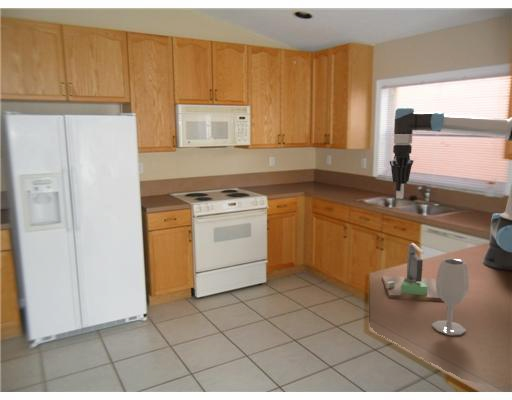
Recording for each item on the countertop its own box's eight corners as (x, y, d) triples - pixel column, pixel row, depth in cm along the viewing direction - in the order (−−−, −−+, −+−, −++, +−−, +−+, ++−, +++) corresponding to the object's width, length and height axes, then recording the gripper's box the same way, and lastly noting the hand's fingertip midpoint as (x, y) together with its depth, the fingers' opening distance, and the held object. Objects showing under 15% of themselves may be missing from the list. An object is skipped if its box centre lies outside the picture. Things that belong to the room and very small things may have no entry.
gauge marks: (428, 291, 148) (428, 283, 147) (426, 296, 143) (426, 288, 143) (387, 284, 154) (388, 277, 154) (384, 289, 150) (385, 281, 149)
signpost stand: (402, 278, 160) (404, 241, 158) (414, 279, 160) (416, 241, 157) (413, 292, 146) (416, 251, 144) (426, 293, 146) (429, 251, 143)
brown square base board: (432, 281, 161) (432, 278, 161) (446, 301, 142) (446, 298, 142) (382, 278, 165) (382, 275, 164) (389, 297, 145) (389, 294, 145)
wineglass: (426, 326, 124) (430, 259, 121) (447, 320, 127) (452, 255, 124) (449, 339, 116) (455, 267, 113) (471, 333, 119) (477, 263, 116)
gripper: (405, 144, 184) (402, 196, 188) (385, 144, 177) (382, 198, 181) (419, 144, 178) (416, 198, 181) (399, 144, 171) (396, 200, 175)
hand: (399, 198), depth 181 cm, fingers closed
